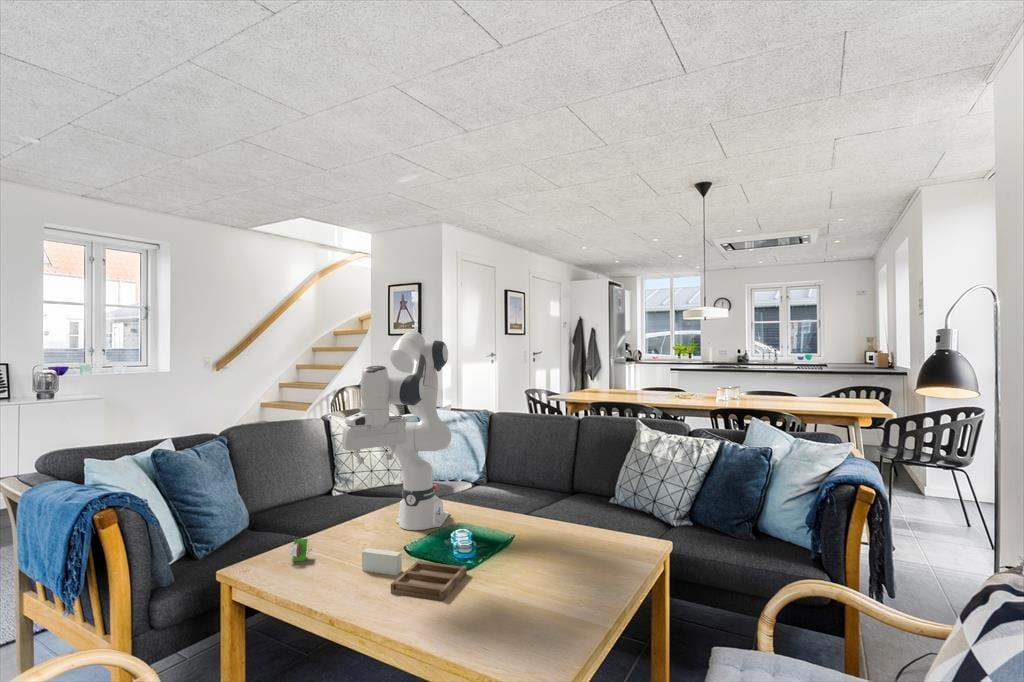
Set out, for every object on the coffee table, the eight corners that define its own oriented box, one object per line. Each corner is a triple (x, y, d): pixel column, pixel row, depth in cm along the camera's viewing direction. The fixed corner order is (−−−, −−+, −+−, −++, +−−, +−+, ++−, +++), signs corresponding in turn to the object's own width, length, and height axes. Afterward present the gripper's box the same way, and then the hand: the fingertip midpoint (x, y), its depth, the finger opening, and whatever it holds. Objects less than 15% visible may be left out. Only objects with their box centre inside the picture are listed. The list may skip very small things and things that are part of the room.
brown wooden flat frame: (418, 567, 169) (418, 559, 169) (466, 574, 164) (466, 566, 164) (390, 593, 153) (390, 584, 153) (442, 600, 148) (442, 591, 148)
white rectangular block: (367, 566, 171) (367, 547, 171) (401, 571, 167) (401, 552, 167) (362, 571, 168) (361, 551, 168) (396, 575, 164) (396, 556, 164)
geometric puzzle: (294, 547, 181) (289, 533, 176) (315, 546, 182) (310, 532, 177) (289, 567, 176) (283, 553, 171) (310, 566, 176) (306, 552, 171)
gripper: (401, 414, 181) (402, 455, 180) (340, 419, 169) (340, 463, 169) (409, 415, 175) (410, 458, 175) (346, 421, 164) (346, 467, 164)
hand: (375, 461), depth 172 cm, fingers open, 8 cm apart
